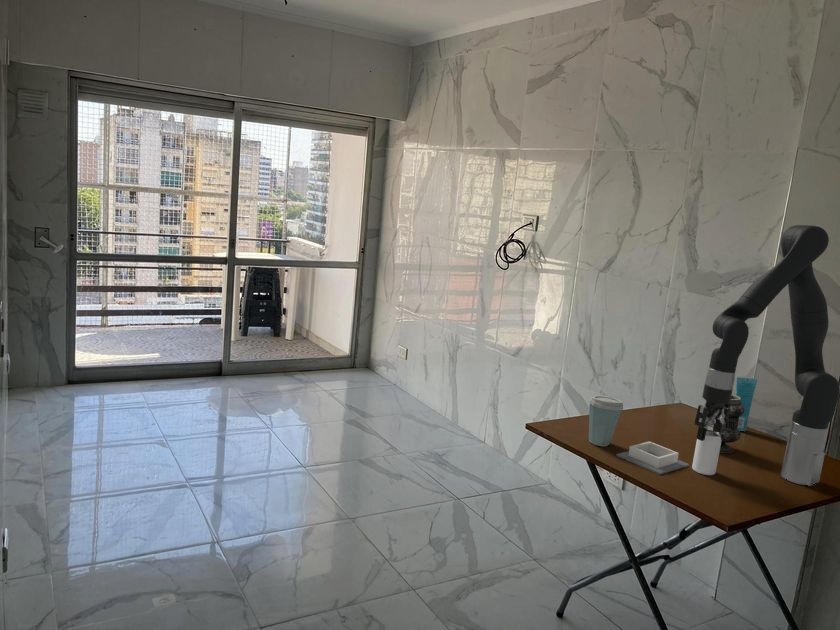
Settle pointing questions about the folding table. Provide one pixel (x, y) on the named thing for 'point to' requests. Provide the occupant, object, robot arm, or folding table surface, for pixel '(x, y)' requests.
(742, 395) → the tube
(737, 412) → the apothecary jar
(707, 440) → the can
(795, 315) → the robot arm
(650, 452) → the board
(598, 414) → the disposable coffee cup
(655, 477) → the folding table surface
